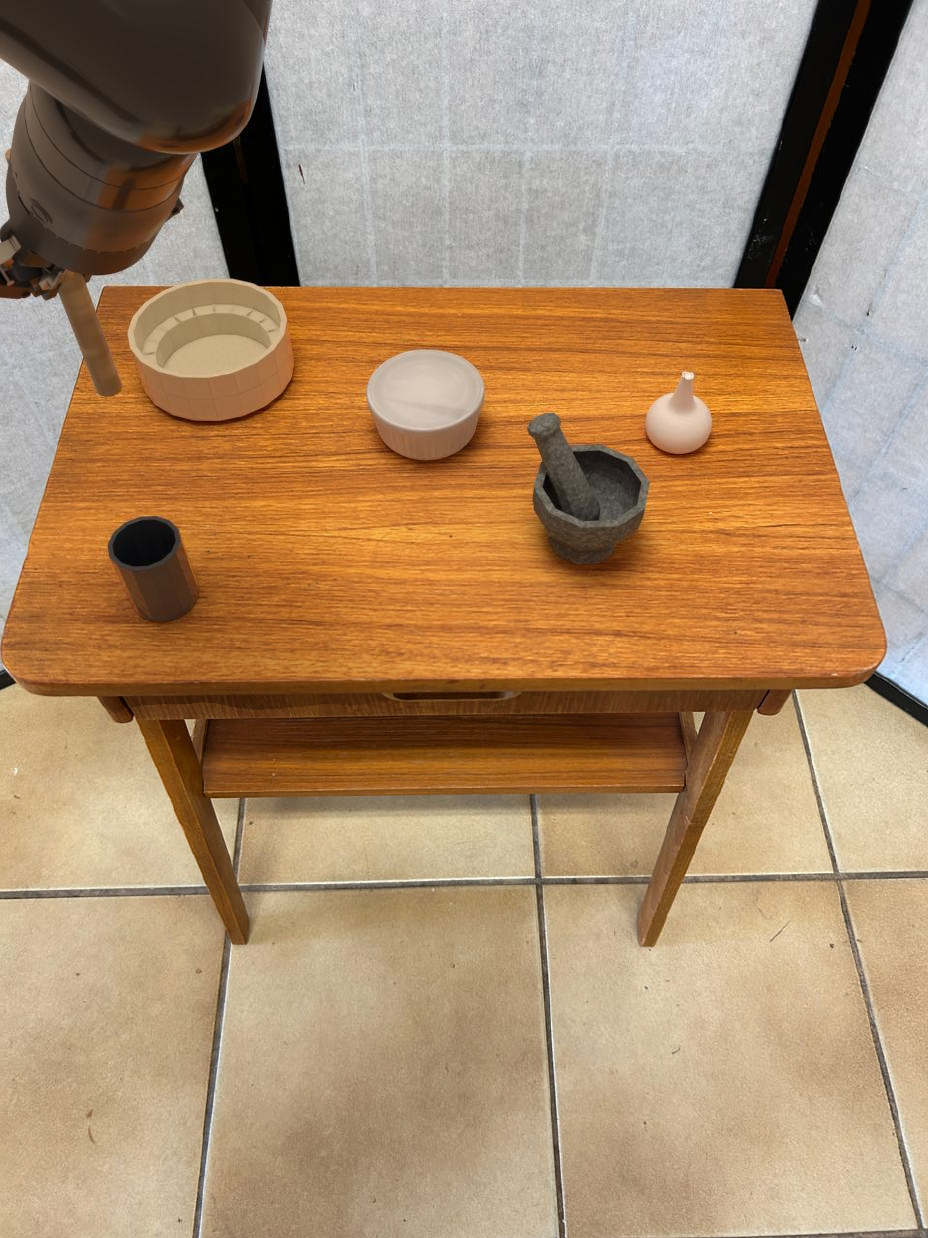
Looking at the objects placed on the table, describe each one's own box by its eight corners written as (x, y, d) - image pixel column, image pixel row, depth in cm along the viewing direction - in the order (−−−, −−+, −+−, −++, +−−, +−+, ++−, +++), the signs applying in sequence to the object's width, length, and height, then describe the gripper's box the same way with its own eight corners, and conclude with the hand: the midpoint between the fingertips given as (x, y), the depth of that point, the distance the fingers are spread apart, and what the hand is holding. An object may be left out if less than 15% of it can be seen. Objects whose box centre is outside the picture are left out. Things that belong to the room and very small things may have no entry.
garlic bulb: (716, 427, 94) (736, 362, 87) (694, 467, 91) (713, 403, 84) (656, 406, 96) (671, 340, 89) (633, 444, 92) (646, 379, 86)
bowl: (154, 439, 92) (137, 390, 87) (136, 342, 100) (120, 293, 96) (308, 407, 95) (300, 359, 90) (278, 315, 103) (270, 267, 98)
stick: (97, 399, 66) (4, 162, 53) (95, 382, 67) (4, 146, 54) (124, 394, 67) (38, 157, 53) (121, 377, 68) (37, 141, 54)
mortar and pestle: (655, 527, 86) (681, 428, 76) (608, 596, 81) (629, 501, 72) (546, 478, 90) (558, 378, 80) (495, 542, 85) (501, 444, 75)
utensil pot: (136, 629, 79) (111, 577, 73) (128, 577, 82) (104, 524, 76) (203, 613, 80) (184, 561, 74) (193, 563, 83) (174, 508, 77)
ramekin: (388, 482, 89) (385, 440, 85) (355, 404, 95) (351, 362, 91) (500, 454, 91) (502, 412, 87) (461, 380, 97) (462, 338, 93)
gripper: (174, 51, 48) (117, 183, 63) (-89, 144, 43) (-82, 264, 58) (253, 194, 50) (179, 288, 65) (11, 300, 45) (-8, 376, 60)
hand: (57, 276), depth 62 cm, fingers closed on stick, 2 cm apart
